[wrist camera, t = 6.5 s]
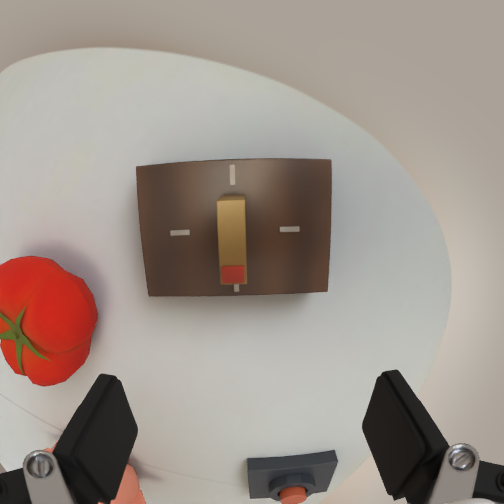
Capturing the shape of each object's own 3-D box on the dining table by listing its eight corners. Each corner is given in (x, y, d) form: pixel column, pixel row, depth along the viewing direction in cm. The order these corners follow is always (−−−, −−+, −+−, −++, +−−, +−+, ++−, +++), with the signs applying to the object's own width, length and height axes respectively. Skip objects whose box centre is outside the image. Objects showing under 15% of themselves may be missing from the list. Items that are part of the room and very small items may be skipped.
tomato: (44, 210, 23) (-18, 228, 14) (133, 297, 25) (93, 349, 17) (6, 300, 25) (-38, 332, 16) (79, 371, 27) (46, 419, 19)
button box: (334, 449, 32) (341, 471, 28) (324, 481, 35) (328, 499, 31) (247, 458, 32) (248, 481, 28) (249, 488, 34) (250, 507, 30)
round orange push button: (306, 484, 29) (308, 493, 28) (303, 494, 30) (305, 503, 28) (280, 486, 29) (281, 496, 27) (278, 496, 30) (279, 505, 28)
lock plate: (320, 160, 22) (332, 159, 19) (318, 278, 25) (328, 292, 22) (148, 167, 22) (135, 166, 19) (158, 282, 25) (147, 297, 22)
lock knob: (221, 195, 20) (215, 201, 16) (244, 194, 20) (245, 200, 16) (224, 264, 21) (220, 286, 17) (246, 264, 21) (247, 285, 17)
